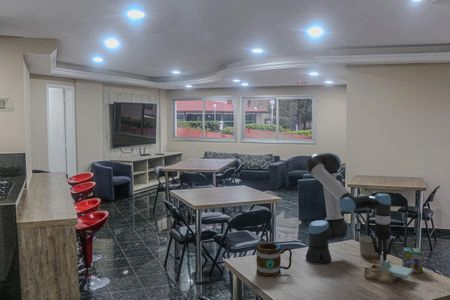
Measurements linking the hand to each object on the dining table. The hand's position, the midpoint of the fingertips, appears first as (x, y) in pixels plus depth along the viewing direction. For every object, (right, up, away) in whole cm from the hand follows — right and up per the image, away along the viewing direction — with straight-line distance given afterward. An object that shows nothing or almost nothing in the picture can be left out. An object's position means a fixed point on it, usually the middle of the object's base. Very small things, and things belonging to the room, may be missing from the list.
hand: (382, 266), depth 207 cm
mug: (-57, -6, +7) cm, 58 cm away
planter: (+6, -4, +34) cm, 35 cm away
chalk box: (+21, -5, +9) cm, 23 cm away
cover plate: (+6, -2, -4) cm, 7 cm away
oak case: (0, -6, 0) cm, 6 cm away
